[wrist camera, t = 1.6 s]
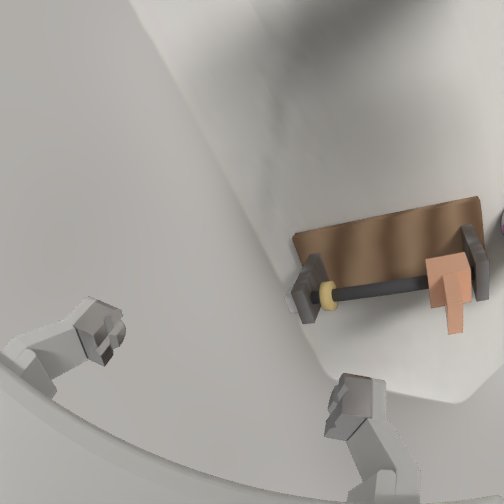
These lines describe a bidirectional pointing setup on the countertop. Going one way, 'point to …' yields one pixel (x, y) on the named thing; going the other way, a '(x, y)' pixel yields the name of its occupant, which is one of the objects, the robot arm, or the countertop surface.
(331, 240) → the towel rod holder
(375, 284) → the dark gray rod
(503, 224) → the supplement bottle
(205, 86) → the countertop surface
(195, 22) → the countertop surface
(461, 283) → the peach stepped block
